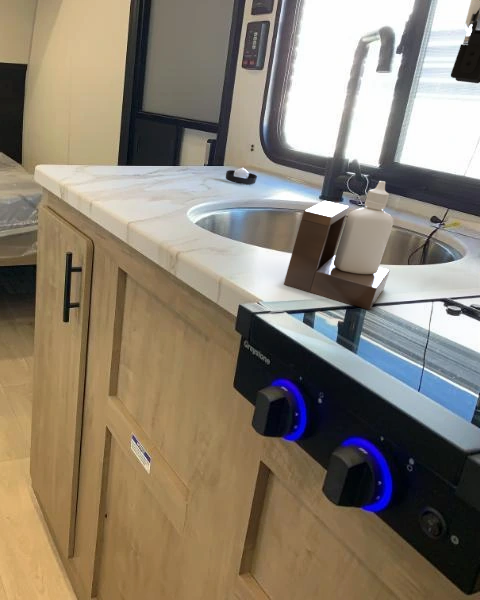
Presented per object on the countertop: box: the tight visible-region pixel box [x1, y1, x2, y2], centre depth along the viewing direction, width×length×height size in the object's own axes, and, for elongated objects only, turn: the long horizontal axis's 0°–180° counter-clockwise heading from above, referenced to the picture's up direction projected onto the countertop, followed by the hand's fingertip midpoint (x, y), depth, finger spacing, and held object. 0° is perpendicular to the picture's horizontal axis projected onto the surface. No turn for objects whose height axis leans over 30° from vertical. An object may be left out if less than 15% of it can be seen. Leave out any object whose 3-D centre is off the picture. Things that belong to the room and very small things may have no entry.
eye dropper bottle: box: [333, 180, 394, 274], centre depth 78 cm, size 4×6×12 cm
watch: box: [225, 167, 258, 185], centre depth 152 cm, size 8×5×4 cm, turn 77°
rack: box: [283, 200, 391, 311], centre depth 80 cm, size 11×11×10 cm
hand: (465, 80), depth 81 cm, fingers open, 9 cm apart
